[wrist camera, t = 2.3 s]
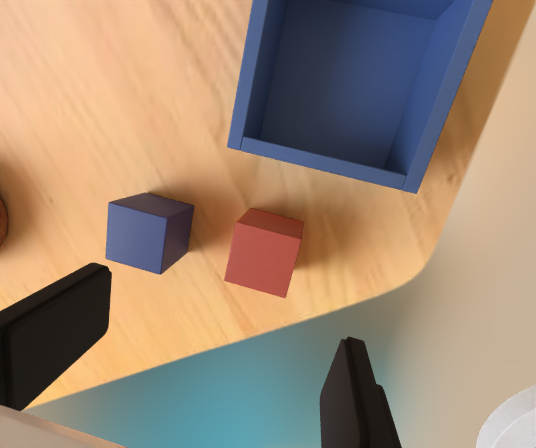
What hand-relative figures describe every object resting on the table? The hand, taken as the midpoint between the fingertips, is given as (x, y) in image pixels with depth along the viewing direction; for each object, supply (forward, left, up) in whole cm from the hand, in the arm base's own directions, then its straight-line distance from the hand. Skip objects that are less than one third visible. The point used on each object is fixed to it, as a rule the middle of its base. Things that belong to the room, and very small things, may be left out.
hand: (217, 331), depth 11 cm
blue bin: (-2, -12, -12) cm, 17 cm away
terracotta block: (0, 0, -12) cm, 12 cm away
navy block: (+9, +1, -12) cm, 15 cm away
